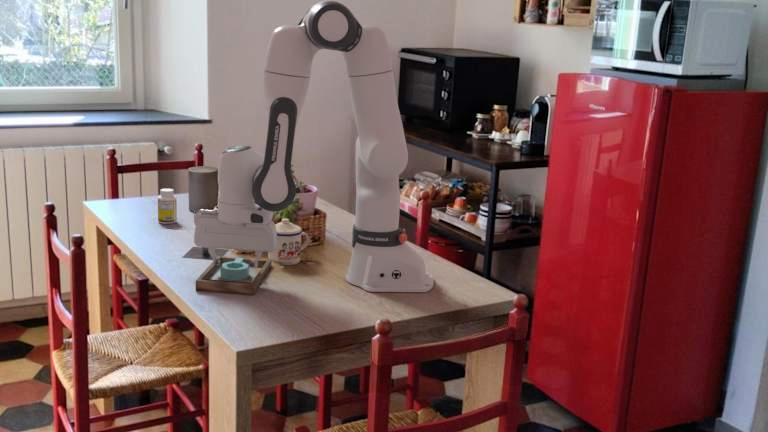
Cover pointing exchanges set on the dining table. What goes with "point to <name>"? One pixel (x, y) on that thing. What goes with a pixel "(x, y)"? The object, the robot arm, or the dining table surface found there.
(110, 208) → the dining table surface
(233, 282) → the walnut tray
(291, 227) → the teacup with lid
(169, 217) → the supplement bottle
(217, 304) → the dining table surface
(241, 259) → the teal ring
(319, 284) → the dining table surface
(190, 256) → the post stand
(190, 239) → the dining table surface
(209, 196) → the pillar candle
